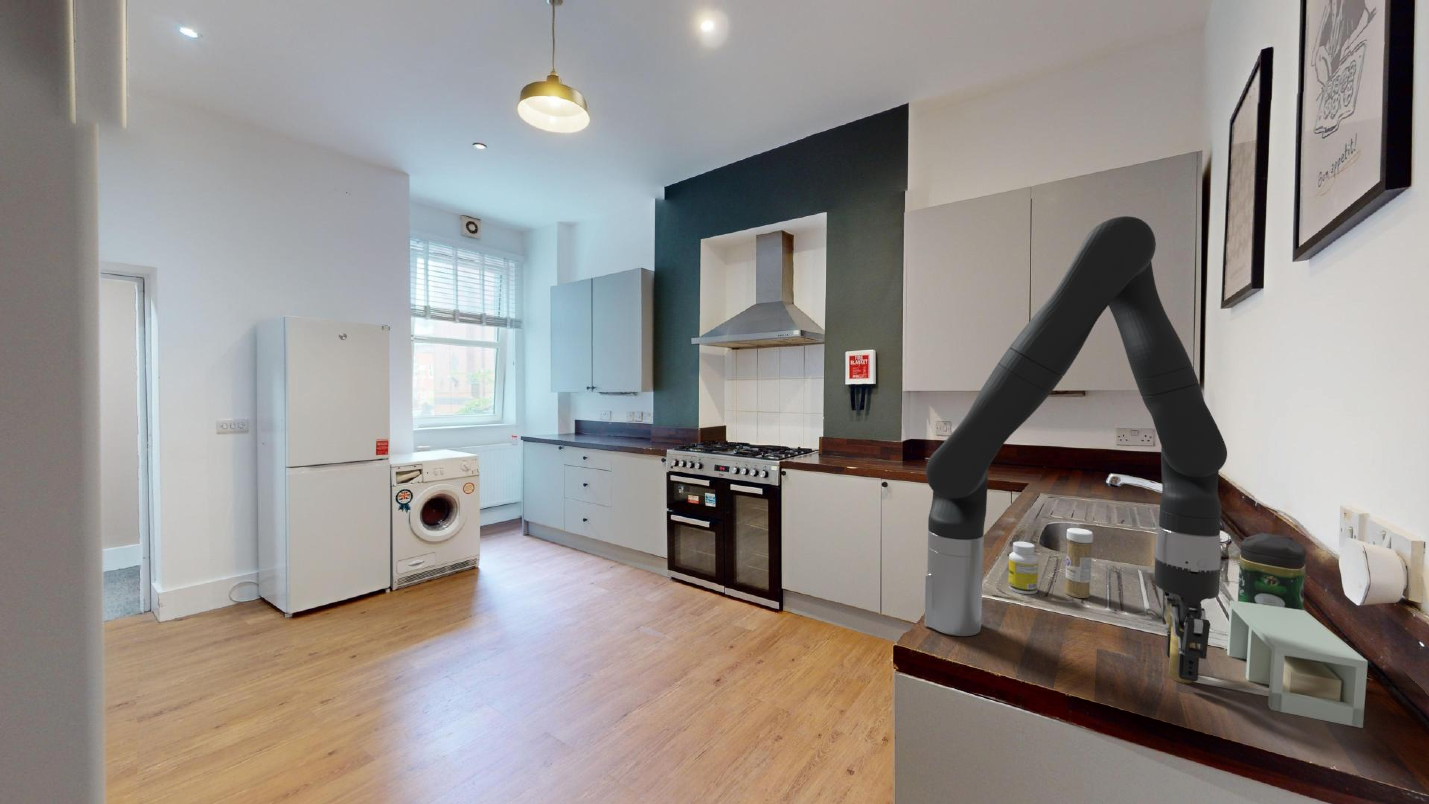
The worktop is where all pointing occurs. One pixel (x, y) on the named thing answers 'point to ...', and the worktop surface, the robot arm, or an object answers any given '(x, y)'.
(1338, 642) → the shelf cubby
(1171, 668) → the block
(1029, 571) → the supplement bottle
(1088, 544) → the spice jar
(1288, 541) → the coffee jar
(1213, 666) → the worktop surface
